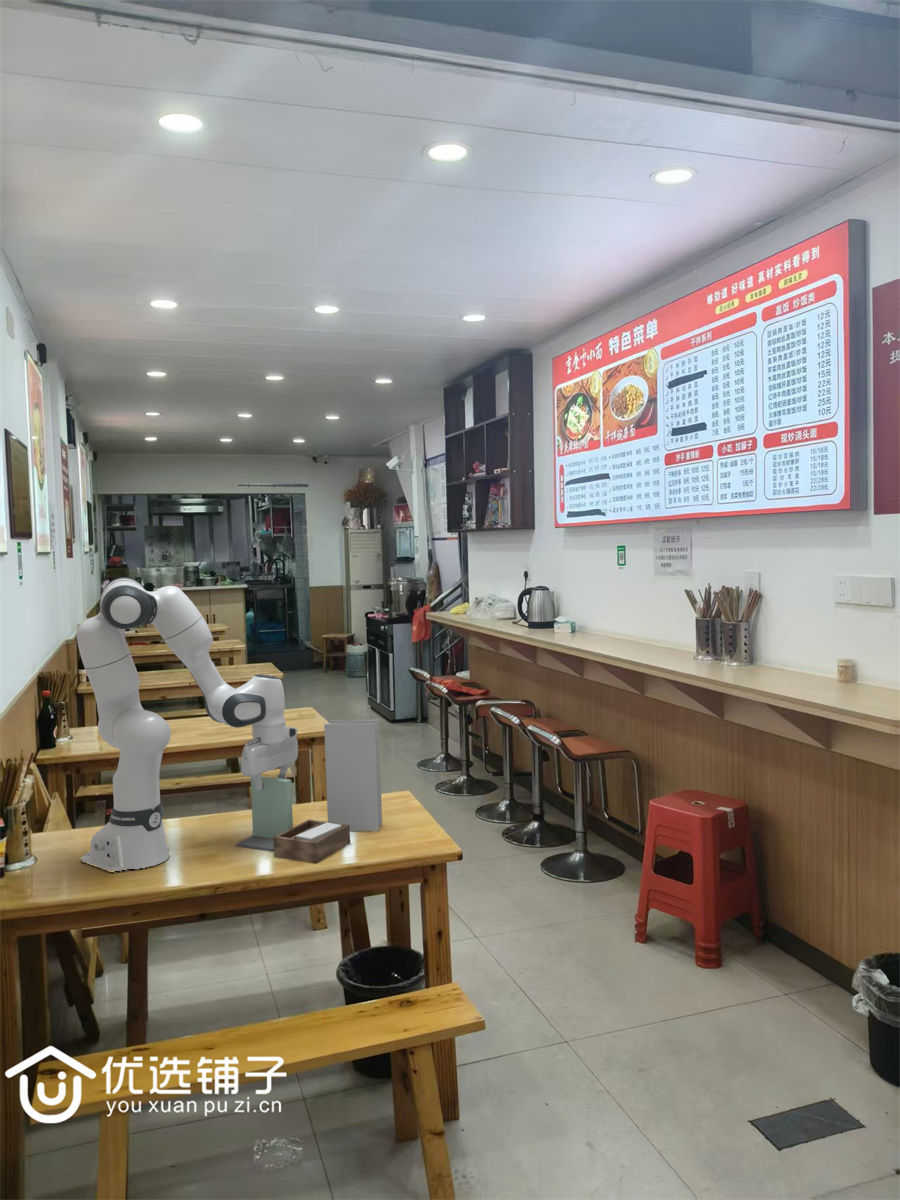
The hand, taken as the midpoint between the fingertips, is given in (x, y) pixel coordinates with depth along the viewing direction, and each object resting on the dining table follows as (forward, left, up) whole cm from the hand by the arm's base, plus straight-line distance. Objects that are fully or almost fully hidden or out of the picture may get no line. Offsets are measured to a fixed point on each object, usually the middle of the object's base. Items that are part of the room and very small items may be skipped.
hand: (271, 785), depth 230 cm
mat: (0, 0, -15) cm, 15 cm away
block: (0, 0, -14) cm, 14 cm away
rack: (+15, -3, -15) cm, 21 cm away
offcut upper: (+17, -3, -12) cm, 22 cm away
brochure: (+16, +16, -15) cm, 27 cm away
